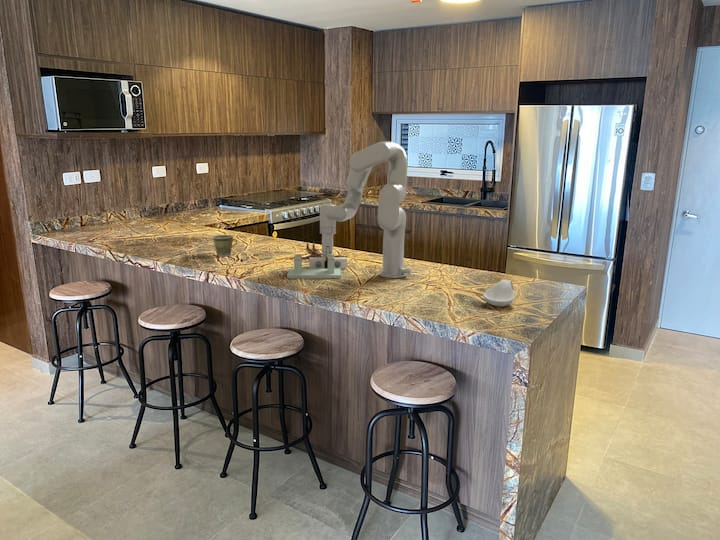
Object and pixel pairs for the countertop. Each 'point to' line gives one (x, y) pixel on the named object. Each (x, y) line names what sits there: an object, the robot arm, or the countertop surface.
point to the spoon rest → (500, 294)
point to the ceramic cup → (223, 245)
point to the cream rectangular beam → (320, 263)
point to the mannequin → (316, 253)
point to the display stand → (313, 273)
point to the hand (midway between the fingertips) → (328, 267)
